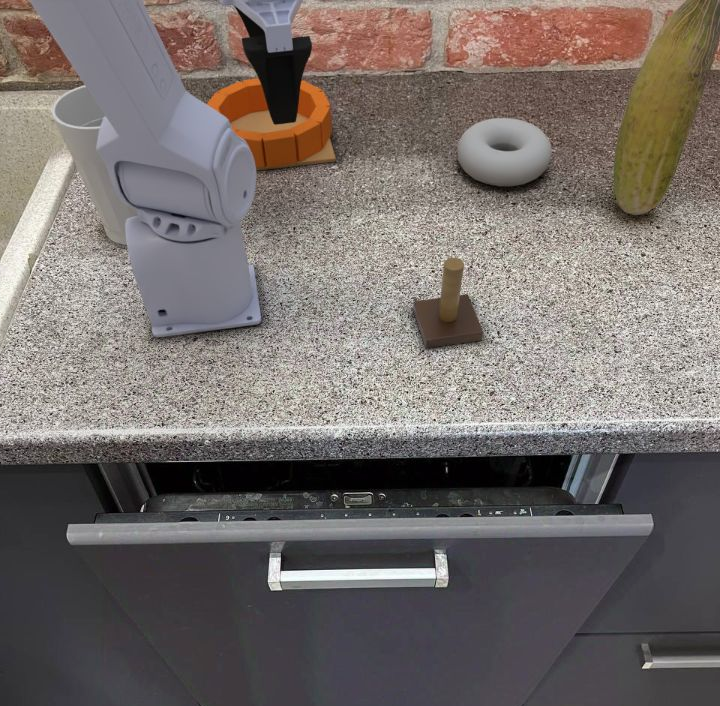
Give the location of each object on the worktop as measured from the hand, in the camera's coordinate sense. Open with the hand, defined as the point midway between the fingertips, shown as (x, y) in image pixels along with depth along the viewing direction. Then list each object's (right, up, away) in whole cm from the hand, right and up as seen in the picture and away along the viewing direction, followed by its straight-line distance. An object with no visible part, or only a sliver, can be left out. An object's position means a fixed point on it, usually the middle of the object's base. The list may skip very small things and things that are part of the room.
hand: (279, 100), depth 65 cm
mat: (-3, +4, +14) cm, 15 cm away
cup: (-15, -10, +5) cm, 19 cm away
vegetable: (+35, -8, +5) cm, 36 cm away
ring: (-3, +4, +14) cm, 14 cm away
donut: (+23, -2, +10) cm, 25 cm away
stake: (+15, -22, -4) cm, 27 cm away
